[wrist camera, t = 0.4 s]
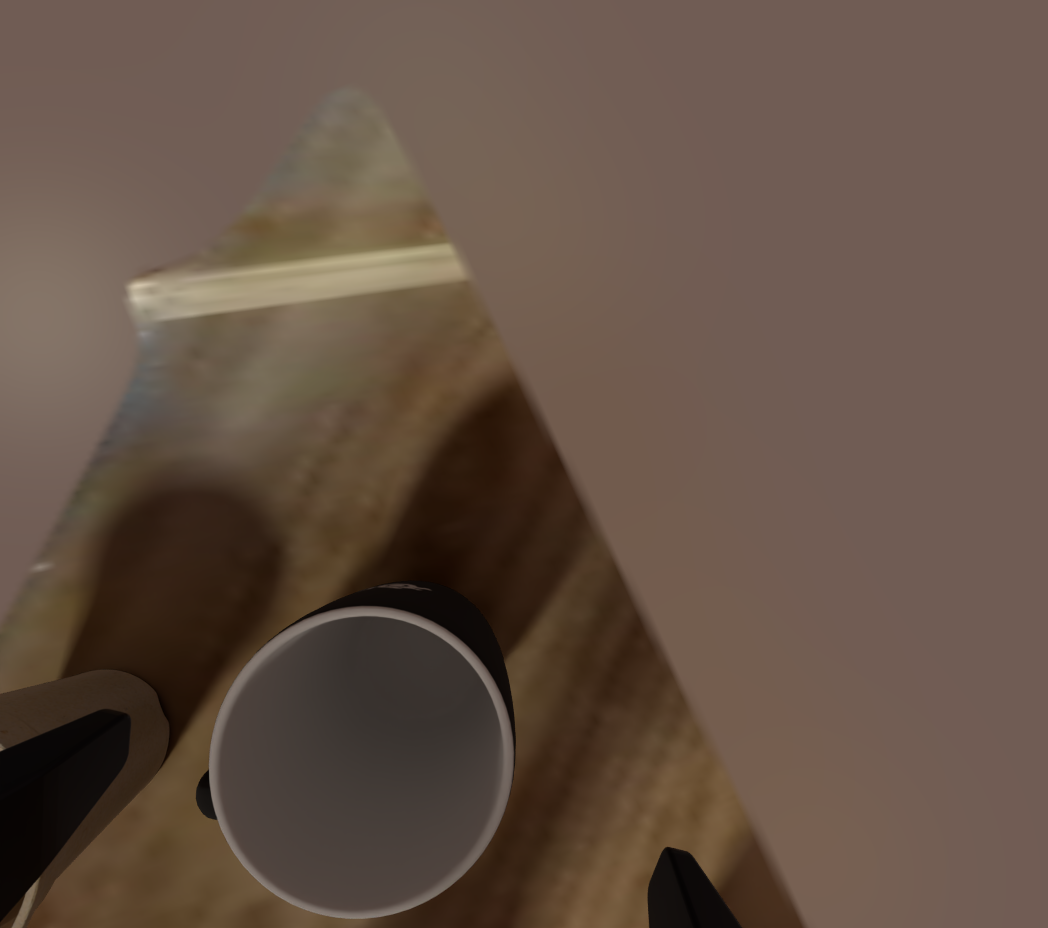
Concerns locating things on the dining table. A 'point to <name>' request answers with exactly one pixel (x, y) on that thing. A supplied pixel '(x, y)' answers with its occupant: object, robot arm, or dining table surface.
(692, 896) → the robot arm
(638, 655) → the dining table surface
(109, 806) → the flower pot
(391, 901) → the mug
